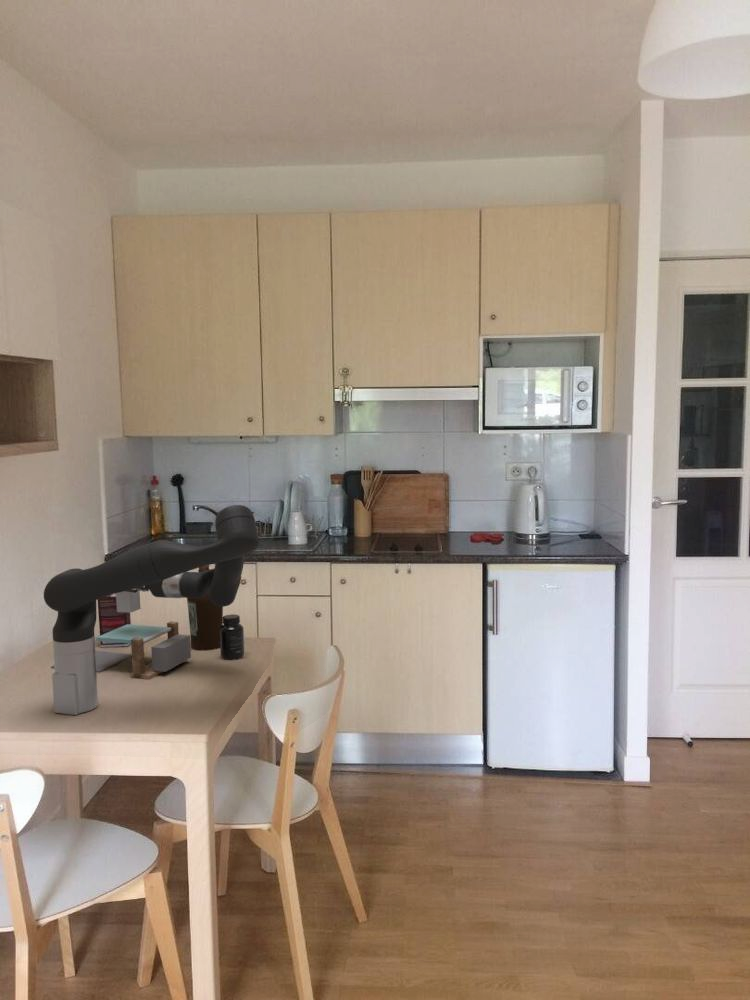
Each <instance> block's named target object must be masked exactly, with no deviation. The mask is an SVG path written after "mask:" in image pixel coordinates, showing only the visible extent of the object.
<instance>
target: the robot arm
mask: <svg viewBox="0 0 750 1000" xmlns="http://www.w3.org/2000/svg"><path fill="white" fill-rule="evenodd" d="M214 521H215V523H214V524H215V531H216V537H217V542H214V543H212V544H207V545H200V546H195V545H188V544H184V543H180V542H177V541H173V540H167V539H159V540H154V541H152V542H149V543H146V544H143V545H140V546H138V547H135V548H132V549H130V550H127V551H125V552H123V553H121V554H119V555H117V556H114V557H113V558H111V559H108V560H107V561H105V562H103V563H101V564H98V565H95V566H92V567H89V568H85V569H82V568H78V567H77V568H69V569H66V570H65V571H63V572H61V573H59V574H56V575H54V576H53V577H51V578H50V580H49V581H48V582H47V584H46V585H45V587H44V590H43V600H44V602H45V604H46V605H47V607H48V608H50V609H51V610H53V611H55V612H57V616H56V621H55V623H54V626H53V627H52V643H53V644H52V646H53V647H52V648H53V662H54V663H53V664H54V666H55V668H54V672H53V673H52V675H51V676H52V677H51V679H52V693H53V694H52V695H53V709H54V711H53V712H54V713H56V714H64V715H71V716H72V715H73V716H74V715H75V716H77V715H79V714H82V713H86V712H90V711H92V710H94V709H96V708H97V707H98V706H99V696H98V695H99V694H98V693H99V691H98V678H97V677H98V676H97V673H98V672H96V655H95V651H96V645H95V644H96V642H95V641H96V638H95V626H96V623H97V601H98V599H100V598H102V597H105V596H108V595H111V594H115V593H119V592H124V591H126V592H133V593H136V592H137V591H141V592H144V593H145V592H150V593H151V595H152V596H154V598H165V599H169V598H170V599H184V598H186V599H187V598H202V597H204V596H205V595H206V594H207V593H208V591H209V598H210V600H211V601H212V602H213V603H214V604H215V605H217V606H221V607H223V608H224V607H228V606H230V605H232V604H233V603H234V601H235V599H236V597H237V593H238V590H239V587H240V586H241V581H242V574H243V569H244V564H245V563H244V560H245V558H244V557H245V556H247V555H249V554H252V553H254V552H255V551H256V550H257V549H258V548H259V546H260V543H261V542H260V537H259V533H258V529H257V524H256V519H255V516H254V513H253V512H252V509H250V508H249V507H248V506H245V505H242V504H234V505H228V506H226V507H224V508H222V509H221V510H220V511H219V512H217V515H216V517H215V520H214ZM207 565H209V566H210V565H214V568H209V569H210V570H206V571H202V572H198V571H193V570H196V569H199V567H203V566H207Z"/></svg>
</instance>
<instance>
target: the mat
mask: <svg viewBox="0 0 750 1000" xmlns="http://www.w3.org/2000/svg"><path fill="white" fill-rule="evenodd" d="M95 655H96V673H101V672H103V671H106V670H107V668H108V669H109V667H110V668H112V667H114V666H116V665H118V664H120V663H122V662H124V661H126V660H128V659H130V658H132V657H131V656H132V653H124V652H123V653H122V652H114V651H101V650H95ZM129 657H130V658H129ZM127 658H128V659H127ZM125 659H126V660H125ZM123 660H124V661H123ZM121 661H122V662H121ZM119 662H120V663H119ZM117 663H118V664H117ZM115 664H116V665H115ZM113 665H114V666H113ZM111 666H112V667H111ZM50 669H55V666H54V665H52V666H51V667H50ZM105 669H106V670H105Z"/></svg>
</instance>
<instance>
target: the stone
mask: <svg viewBox="0 0 750 1000" xmlns="http://www.w3.org/2000/svg"><path fill="white" fill-rule="evenodd" d="M116 603H117V612H128V613H130V614H131V613H133V612H136V611H139V610H141V595H140V591H137V592H136V593H133V592H126V591H124V592H119V593H116Z"/></svg>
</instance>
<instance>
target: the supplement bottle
mask: <svg viewBox="0 0 750 1000" xmlns="http://www.w3.org/2000/svg"><path fill="white" fill-rule="evenodd" d="M240 623H241V619H240V615H239V614H232V613H231V614H226V615H223V626H221V628H220V647H219V648H220V658H222V659H223V660H226V659H228V660H227V661H234V660H233V659H236V660H240V659H242V658H243V657H244V656H245V634H244V633H245V632H244V631H245V630H244V626H243V625H242V624H240ZM239 658H240V659H239Z"/></svg>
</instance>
